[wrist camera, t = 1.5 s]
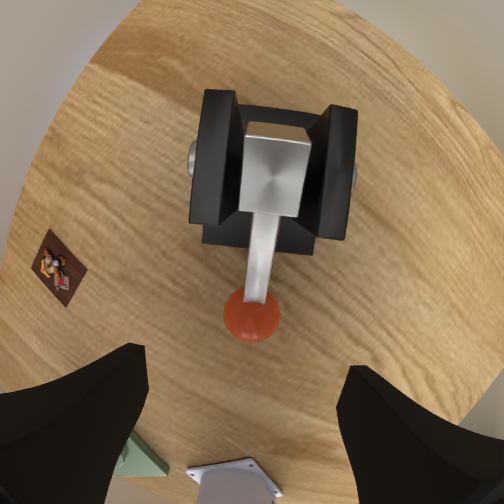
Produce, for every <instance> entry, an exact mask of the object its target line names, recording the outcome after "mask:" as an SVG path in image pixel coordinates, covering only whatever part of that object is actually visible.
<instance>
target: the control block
mask: <svg viewBox="0 0 504 504" xmlns="http://www.w3.org/2000/svg"><path fill="white" fill-rule="evenodd" d="M169 469H170V468H169V467H168V466H167V465H166V464H165V463H164V462H163V461H162V460H161V459H160V458H159V457H158V456H157V455H156V454H155V453H154V452H153V451H152V450H151V449H150V448H149V447H148V446H147V445H146V444H145V443H144V442H143V441H142V439H141V438H140V437H139V436H138V435H137V434H136V433H135V432H134V431H133V430H132V432H131V434H130V436H129V438H128V440H127V442H126V444H125V446H124V448H123V450H122V452H121V454H120V456H119V459H118V461H117V463H116V466H115V469H114V473H115V474H116V475H117V476H167V475H168V473H169Z"/></svg>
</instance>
